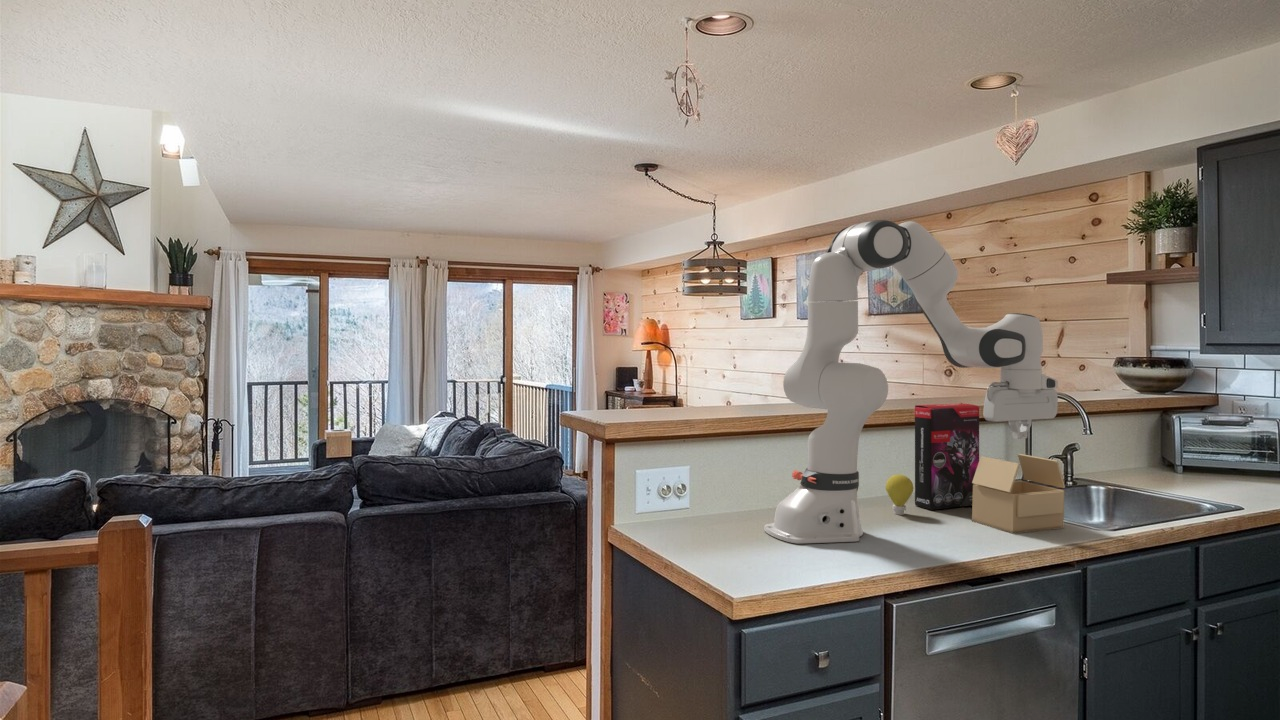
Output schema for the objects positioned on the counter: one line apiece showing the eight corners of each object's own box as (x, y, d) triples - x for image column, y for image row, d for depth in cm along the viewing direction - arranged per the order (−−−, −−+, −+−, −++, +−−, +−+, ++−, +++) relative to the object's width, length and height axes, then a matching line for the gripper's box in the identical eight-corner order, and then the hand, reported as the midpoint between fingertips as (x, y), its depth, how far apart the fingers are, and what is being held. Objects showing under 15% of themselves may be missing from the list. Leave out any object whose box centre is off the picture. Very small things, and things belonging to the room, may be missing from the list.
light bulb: (901, 509, 190) (902, 471, 189) (918, 515, 183) (919, 476, 183) (879, 511, 188) (880, 472, 187) (896, 517, 181) (897, 477, 181)
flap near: (973, 483, 178) (982, 456, 178) (1010, 492, 167) (1020, 464, 168) (971, 482, 177) (980, 455, 178) (1009, 492, 167) (1018, 463, 168)
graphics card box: (930, 511, 188) (933, 406, 187) (911, 505, 195) (913, 404, 194) (980, 506, 195) (982, 404, 194) (959, 501, 201) (962, 402, 200)
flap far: (1063, 488, 173) (1056, 461, 172) (1024, 479, 183) (1017, 454, 182) (1065, 487, 173) (1057, 460, 172) (1026, 478, 184) (1018, 453, 183)
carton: (1015, 534, 167) (1016, 495, 166) (969, 520, 179) (970, 484, 179) (1065, 528, 172) (1066, 490, 172) (1018, 515, 185) (1019, 480, 184)
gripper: (998, 383, 168) (997, 442, 169) (1063, 381, 175) (1062, 438, 176) (977, 381, 174) (976, 438, 174) (1040, 379, 181) (1039, 434, 182)
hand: (1019, 438), depth 175 cm, fingers closed
